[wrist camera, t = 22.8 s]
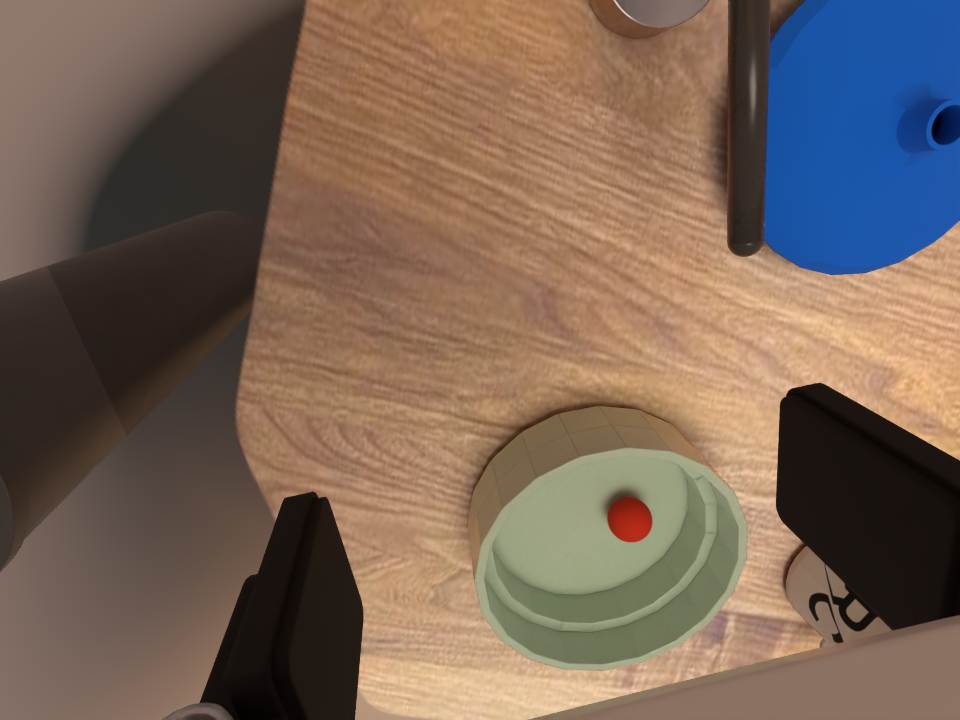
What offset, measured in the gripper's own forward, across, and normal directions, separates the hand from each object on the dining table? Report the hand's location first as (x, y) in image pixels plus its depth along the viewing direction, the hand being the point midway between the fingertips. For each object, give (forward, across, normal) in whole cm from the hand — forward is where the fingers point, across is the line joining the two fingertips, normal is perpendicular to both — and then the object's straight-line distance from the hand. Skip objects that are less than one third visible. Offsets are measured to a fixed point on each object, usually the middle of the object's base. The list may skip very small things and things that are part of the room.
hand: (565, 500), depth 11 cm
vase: (+23, -23, -4) cm, 33 cm away
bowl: (+23, -6, +19) cm, 31 cm away
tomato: (+21, -8, +19) cm, 29 cm away
